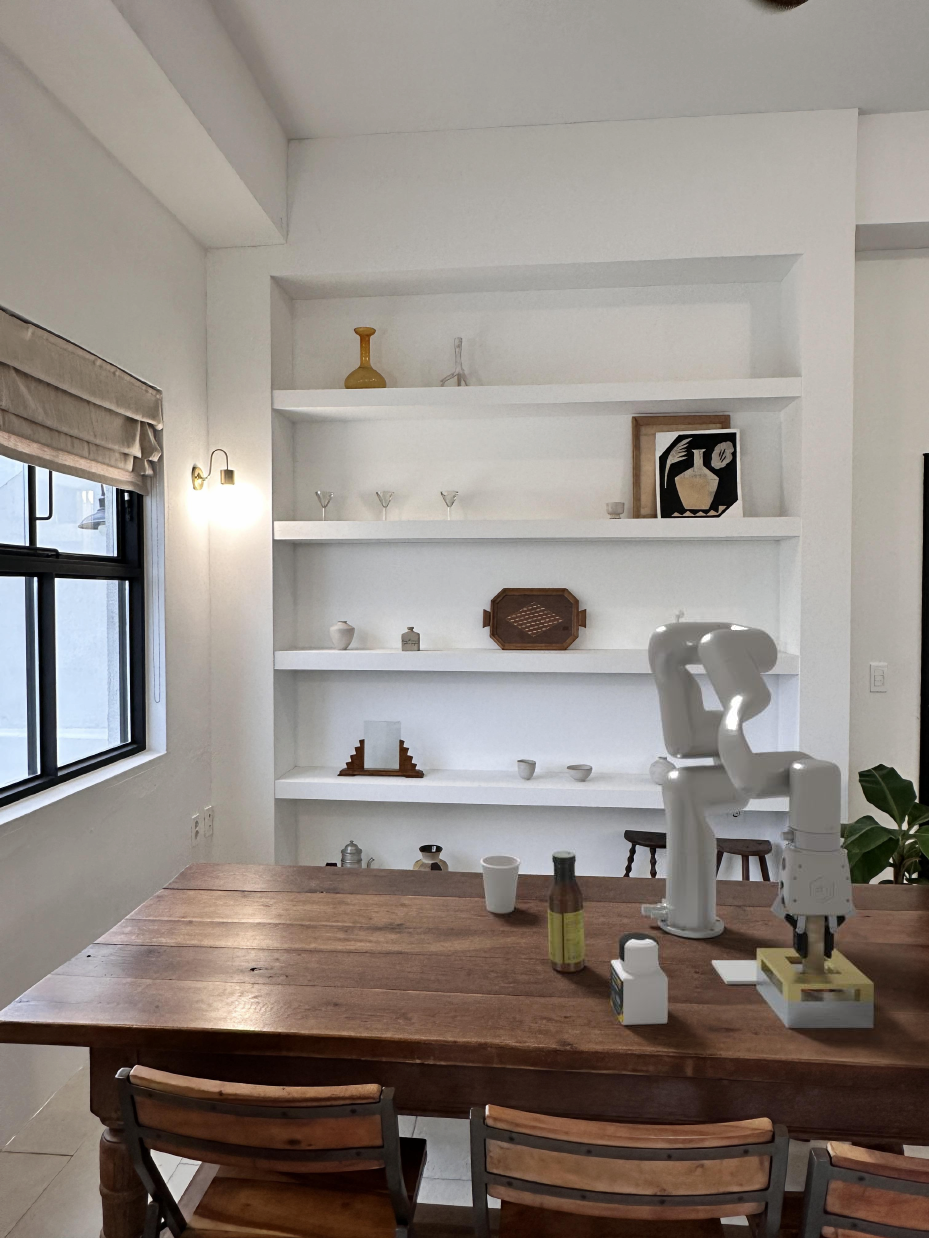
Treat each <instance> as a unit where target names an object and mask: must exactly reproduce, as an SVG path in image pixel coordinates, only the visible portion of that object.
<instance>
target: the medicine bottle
mask: <svg viewBox="0 0 929 1238" xmlns="http://www.w3.org/2000/svg"><path fill="white" fill-rule="evenodd" d="M618 940H619V941H618V946H619V947H618V959H612V960H611V961H610V1005H611V1006H612V1008H613V1011H614V1012H615V1014H616V1016H617V1018H618V1020H619V1022H620V1023H621V1024H622V1025H623V1026H631V1025H632V1026H634V1025H636V1026H637V1025H639V1026H640V1025H658V1024H659V1025H662V1024H663V1025H664V1024H665V1025H666V1024H667V1023H668V1009H669V1008H668V1001H669V999H668V998H669V997H668V995H669V994H668V993H669V989H668V988H669V987H668V986H669V984H668V983H669V978H668V977H667V975H666V974H665V972H664V971H663V970H662V969H661V967H660V965H659V962H660V960H659V957H660V956H659V955H660V953H659V952H660V951H659V948H660V943H659V941H658V940H657V938H656V937H654V936H652V935H650V934H647V933H644V932H639V931H638V932H629V933H625V934H623V935H621V937H620V938H619V939H618Z"/></svg>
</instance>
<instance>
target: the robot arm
mask: <svg viewBox="0 0 929 1238" xmlns="http://www.w3.org/2000/svg"><path fill="white" fill-rule="evenodd" d="M649 638H650V639H649V642H648V648H647V649H648V650H647V657H648V663H649V667H650V668H649V669H650V671H651V674H652V677H653V680H654V683H655V686H656V690H657V695H658V702H659V703H658V704H659V710H660V720H661V728H662V736H663V743H664V747H665V750H666V751H667V753H668V755H669V756H671V757H672V758H675V759H679V760H696V759H697V760H699V759H712V761H713V764H707V765H705V764H702V765H699V764H698V765H689V766H687V765H686V766H682V767H681V766H680V767H677V768H674V769H671V770H669V771H668V772H667V773H666V774H665V775H664V777H663V779H662V782H661V795H662V803H663V806H664V811H665V812H664V813H665V825H666V826H665V828H666V833H665V835H666V841H665V842H666V844H665V845H666V850H665V851H666V855H665V856H666V860H665V861H666V868H665V869H666V872H665V876H666V877H665V881H666V882H665V898H661V903H660V902H658V903H657V904H641V913H642V915H644V916H645V915H646V916H647V915H649V916H650V917H651V919H657V924H658V926H659V927H660V928H661V929H662V930H664V931H665V932H667V933H669V934H671V935H675V936H678V937H683V938H691V939H707V938H708V939H709V938H715V937H717V936H720V935H721V934H722V933H723V932H724V930H725V923H724V922H723V920H722V919H721V918H720V917H719V916H717V915H716V914H717V911H716V910H717V905H716V904H717V838H716V837H717V836H716V834H715V832H714V830H713V828H712V827H711V826H710V825H711V824H710V823H709V822H708V820H707V818H706V817H707V816H710V815H719V814H729V813H730V814H731V813H737V812H741V811H743V810H744V809H746V808H747V806H748V805H749V803H750V800H765V799H766V800H767V799H778V798H788V803H789V804H788V805H789V806H788V826H787V830H785V831H781V832H780V834H779V837H780V840H781V841H785V842H787V843H788V844H785V845H784V849H783V852H782V857H781V861H780V867H779V868H780V869H779V877H778V892H777V893H778V895H777V896H776V899H775V900H774V902H773V904H772V906H771V908H770V912H772V914H773V915H774V916H777V917H778V918H781V919H782V920H784V921H785V922H786V923H787V924H789V926H791V928H792V948H794V950H795V951H796V953H797V954H798V955H799V956H800V957H801V958H802V959H806V958H807V957H808V935H807V933H806V932H805V920H806V916H825V938H824V956H825V957H826V958H827V959H831V958H832V951H833V950H834V948H835V934H837V932H838V928H840V926H841V925H843V924H844V923H845V921H846V920H849V919H850V918H852V917H854V916H856V915H857V912H858V911H857V908H856V907H855V905H854V904H853V893H852V892H853V891H852V890H853V889H852V881H851V872H850V871H851V870H850V865H849V859H848V854H847V851H846V850H845V849H844V848H842V847H841V827H842V824H841V817H842V816H841V815H842V814H841V813H842V812H841V811H842V810H841V807H842V806H841V805H842V802H841V801H842V800H841V799H842V773H841V769H840V767H839V766H838V764H837V763H835V762H832V761H829V760H823V759H817V758H815V757H814V756H812V755H810V754H808V753H806V752H803V751H799V750H784V751H783V750H782V751H765V752H763V751H761V752H753V751H752V749H751V746H750V745H749V743H748V741H747V739H746V737H745V736H746V735H745V733H744V728H743V724H744V723H746V722H748V721H750V720H752V719H753V718H755V717H757V716H758V715H759V714H761V713H762V712H763V711H765V710H766V709H767V708H768V707H769V705H770V704H771V701H772V693H771V691H770V688H769V687H768V685H767V684H766V681H765V680H764V678H763V676H762V674H765V673H769V672H770V671H772V670H773V669H774V667H775V666H776V664H777V661H778V654H779V653H778V648H777V645H776V643H775V640H774V639H773V638H772V636H771V635H770V634H769V633H768V632H766V631H765V630H762V629H761V628H757V627H751V626H745V625H742V624H738V623H732V622H725V621H724V622H722V621H721V622H719V621H679V622H676V621H675V622H670V623H666V624H663V625H661V626H659V627H656V629H655V630H654V631H653V632H652V634H651V636H650V637H649ZM688 665H696V666H698V665H700V666H701V665H702V667H703V669H704V671H705V673H706V676H707V677H708V679H709V681H710V683H711V685H712V687H713V689H714V691H715V692H714V693H715V694H716V696H717V698H718V700H719V703H720V704H721V707H722V709H723V710H722V709H711V710H707V709H705V706H704V701H703V693H702V692H703V691H702V688H701V685H700V682H699V681H698V679H697V678H696V677H695V676H694V674H693V673H692V672H691V671H690V670H689V669H688V668H687V666H688ZM785 909H786V910H785Z"/></svg>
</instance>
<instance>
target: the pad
mask: <svg viewBox="0 0 929 1238" xmlns="http://www.w3.org/2000/svg"><path fill="white" fill-rule="evenodd" d="M711 965H712V966H713V968H714V969H715V970H716V972H717V973H718V975H719V977H721V979H722V981H723V982H724V983H725V984H726V985H756V977H757V959H753V960H751V959H744V960H743V959H742V960H741V959H740V960H735V959H734V960H727V959H726V960H725V959H723V960H720V959H719V960H718V959H717V960H716V959H715V960H714V959H712V960H711Z"/></svg>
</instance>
